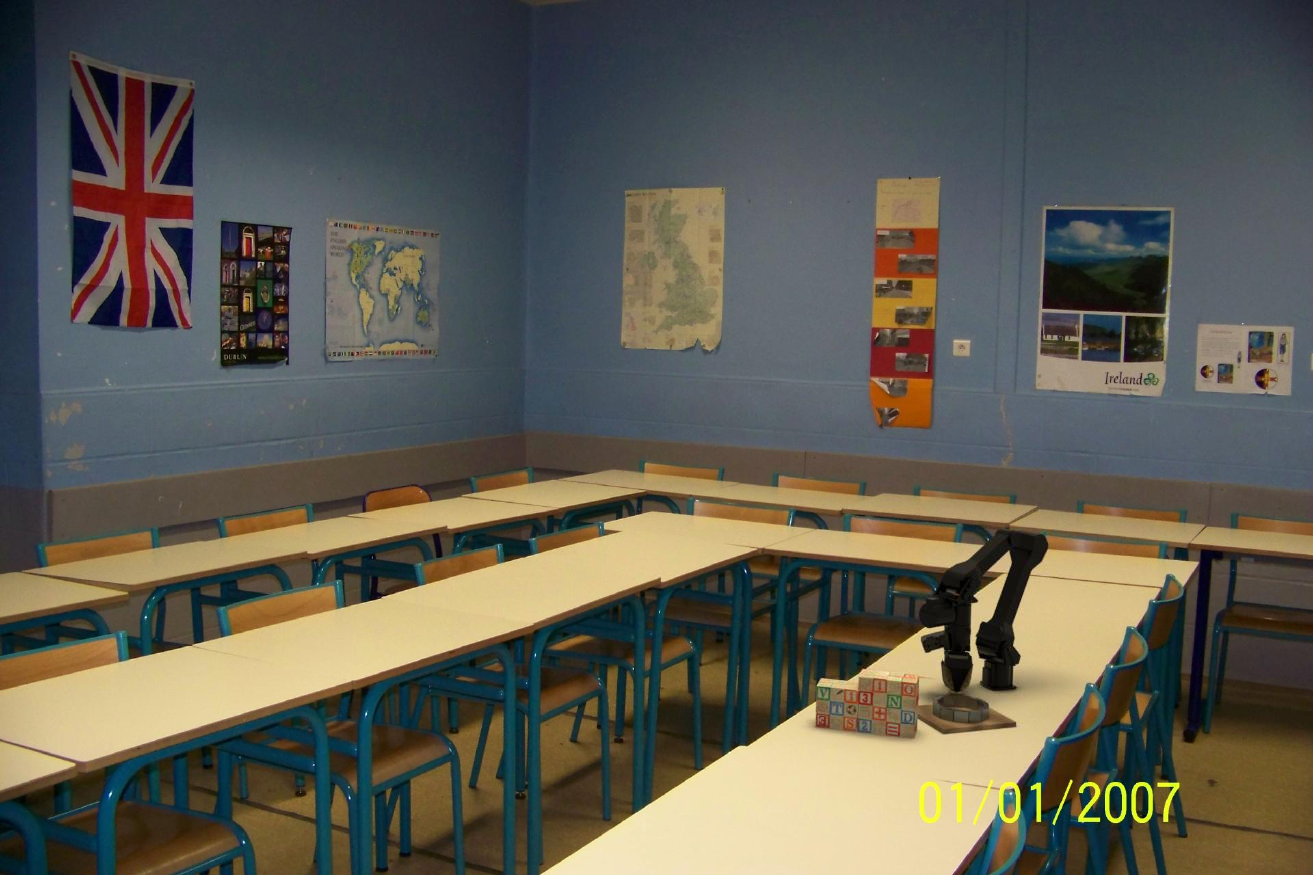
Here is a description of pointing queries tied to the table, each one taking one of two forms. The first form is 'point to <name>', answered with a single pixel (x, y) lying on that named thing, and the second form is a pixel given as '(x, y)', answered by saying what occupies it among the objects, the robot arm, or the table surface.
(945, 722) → the base plate
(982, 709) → the gray stone ring
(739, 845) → the table surface
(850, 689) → the stack of blocks
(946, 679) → the cup
